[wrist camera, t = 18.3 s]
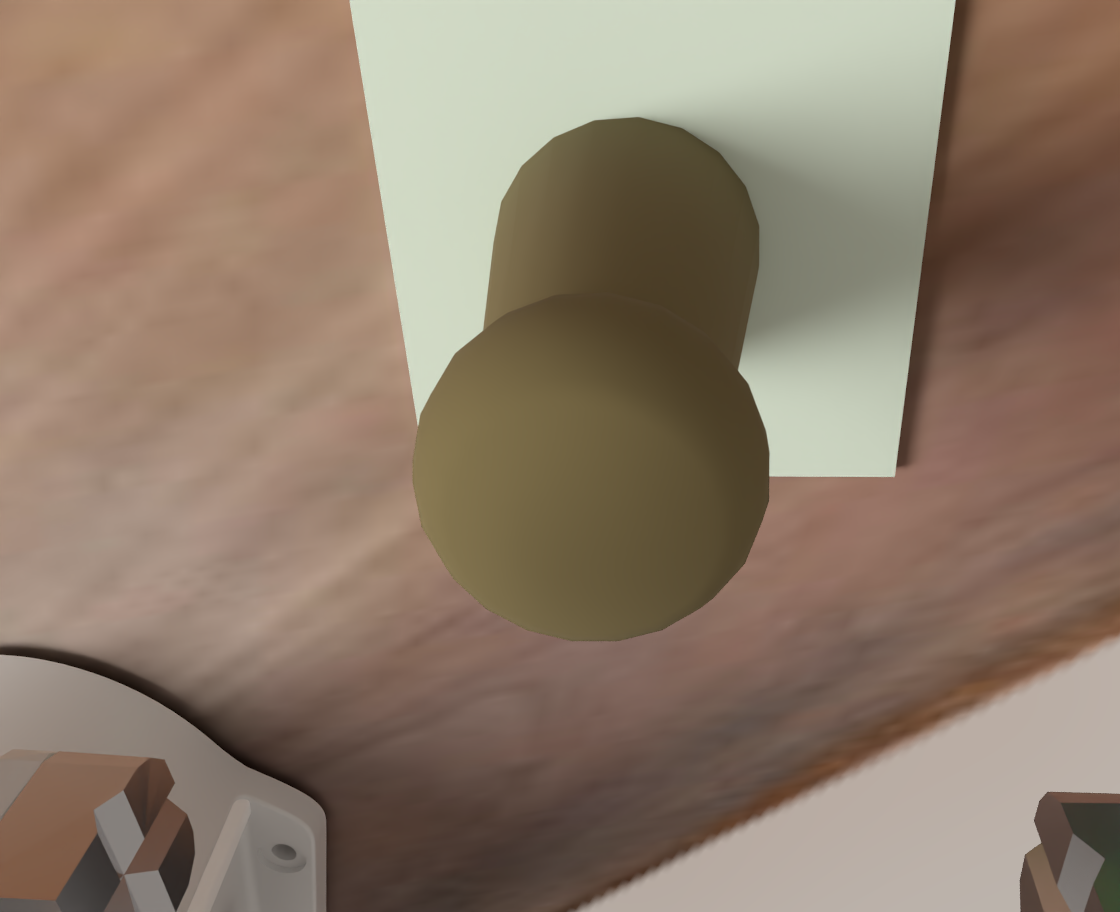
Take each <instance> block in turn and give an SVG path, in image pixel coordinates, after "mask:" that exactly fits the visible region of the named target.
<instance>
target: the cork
mask: <svg viewBox="0 0 1120 912" xmlns="http://www.w3.org/2000/svg"><path fill="white" fill-rule="evenodd" d="M758 270H759V223H758V221H757V218H756V215H755V212H754V209H753V206H752V203H751V200H750V197H749V194H748V191H747V188H746V186H745V185H744V183H743V182H742V181H741V179H740V178H739V177H738V176H737V174H736V173H735V172H734V170H733V169H732V168H731V167H730V165H729V164H728V163H727V161H726V160H725V159H724V158H723V156H722V155H721V154H720V153H719V152H718V151H717V150H715V149H714V148H712V147H710V146H709V145H707V144H706V143H704V142H703V141H701V140H700V139H698V138H697V137H695V136H694V135H692V134H690V133H689V132H687V131H686V130H684V129H683V128H680V127H676V126H672V125H668V124H664V123H660V122H656V121H652V120H648V119H645V118H641V117H632V118H619V119H606V120H594V121H591V122H589V123H587V124H584V125H582V126H579V127H577V128H575V129H572V130H570V131H568V132H565V133H563V134H561V135H558V136H556V137H553V138H552V139H551V140H550V141H549V142H548V143H547V144H546V145H544V146H543V147H542V148H541V149H540V150H539V151H538V152H537V153H535V154H534V155H533V156H532V157H531V158H530V159H529V160H528V161H526V162H525V163H524V164H523V165H522V166H521V168H520V169H519V171H518V173H517V175H516V177H515V178H514V180H513V182H512V184H511V185H510V187H509V189H508V191H507V192H506V194H505V196H504V198H503V199H502V201H501V205H500V210H499V216H498V221H497V226H496V231H495V237H494V242H493V251H492V259H491V268H490V276H489V284H488V293H487V301H486V310H485V318H484V326H483V331H482V332H481V333H480V334H478V335H477V336H476V337H475V338H473V339H472V340H471V341H470V342H468V343H467V344H466V345H465V346H463V347H462V348H461V349H460V350H459V351H457V352H456V353H455V354H454V356H453V357H452V359H451V361H450V363H449V364H448V366H447V368H446V369H445V371H444V373H443V374H442V376H441V378H440V379H439V381H438V383H437V384H436V386H435V388H434V389H433V391H432V393H431V395H430V396H429V398H428V400H427V402H426V404H425V406H424V408H423V410H422V412H421V414H420V419H419V425H418V431H417V437H416V443H415V449H414V456H413V487H414V491H415V496H416V501H417V506H418V511H419V516H420V521H421V525H422V528H423V530H424V531H425V533H426V535H427V536H428V538H429V540H430V541H431V543H432V545H433V546H434V548H435V550H436V551H437V553H438V555H439V556H440V558H441V560H442V562H443V563H444V565H445V567H446V568H447V570H448V571H449V573H450V574H451V576H452V577H453V579H454V580H455V581H456V582H457V583H458V584H460V585H461V586H462V587H463V588H464V589H465V590H466V591H467V592H468V593H469V594H471V595H472V596H473V597H474V598H475V599H476V600H477V601H478V602H479V603H480V604H481V605H483V606H484V607H485V608H486V609H487V610H489V611H491V612H493V613H495V614H497V615H499V616H501V617H503V618H505V619H506V620H508V621H510V622H512V623H514V624H516V625H518V626H520V627H522V628H524V629H526V630H528V631H533V632H537V633H541V634H545V635H549V636H553V637H557V638H561V639H565V640H569V641H621V640H624V639H628V638H632V637H636V636H640V635H644V634H648V633H652V632H656V631H660V630H663V629H665V628H666V627H668V626H670V625H672V624H673V623H675V622H677V621H679V620H680V619H682V618H684V617H686V616H687V615H689V614H691V613H693V612H694V611H696V610H698V609H700V608H701V607H702V606H704V605H705V604H706V603H708V602H709V601H710V600H711V599H713V598H714V597H715V596H716V595H717V593H718V592H719V591H720V590H721V589H722V588H723V587H724V586H725V585H726V584H727V583H728V581H729V580H730V579H731V578H732V577H733V576H734V575H735V574H736V573H737V572H738V571H739V569H740V568H741V567H742V566H743V565H744V564H745V562H746V559H747V557H748V554H749V552H750V550H751V547H752V545H753V542H754V540H755V537H756V535H757V532H758V530H759V528H760V525H761V523H762V520H763V517H764V514H765V511H766V508H767V505H768V502H769V458H770V451H769V445H768V439H767V433H766V429H765V427H764V424H763V421H762V419H761V416H760V413H759V411H758V408H757V405H756V403H755V400H754V397H753V395H752V392H751V389H750V387H749V384H748V383H747V381H746V380H745V379H744V378H743V376H742V375H741V374H740V373H739V371H738V368H739V363H740V358H741V353H742V348H743V343H744V338H745V333H746V329H747V324H748V319H749V314H750V309H751V304H752V299H753V294H754V289H755V285H756V280H757V275H758Z"/></svg>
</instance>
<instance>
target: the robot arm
mask: <svg viewBox="0 0 1120 912" xmlns="http://www.w3.org/2000/svg"><path fill="white" fill-rule="evenodd" d="M1034 822H1035V825H1036V828H1037V831H1038V833H1039V836H1040V839H1041V842H1042V843H1041V844H1039V845H1038V846H1037V847H1035V848H1034V849H1032V850H1031V851H1029V852H1028V853H1027V854H1025V858H1024V863H1023V868H1022V872H1021V877H1020V905H1021V912H1120V794H1107V793H1071V792H1047V793H1046V794H1045V796H1044V797H1043V798H1042V799H1041V800H1040V801H1039V805H1038V808H1037V812H1036V816H1035V819H1034ZM0 912H326V816H325V813H324V811H323V809H322V808H321V806H320V805H319V804H318V803H317V802H316V801H314V800H313V799H312V798H310V797H309V796H307V795H306V794H304V793H302V792H301V791H299V790H297V789H295V788H293V787H291V786H289V785H287V784H285V783H283V782H280V781H278V780H276V779H274V778H272V777H269V776H267V775H265V774H262V773H260V772H258V771H255V770H253V769H251V768H248V767H246V766H245V765H243V764H242V763H240V762H239V761H237V760H236V759H234V758H233V757H232V756H230V755H229V754H228V753H226V752H225V751H224V750H223V749H221V748H220V747H219V746H218V745H217V744H215V743H214V742H213V741H212V740H211V739H209V738H208V737H207V736H206V735H204V734H203V733H202V732H201V731H200V730H198V729H197V728H196V727H194V726H193V725H192V724H190V723H189V722H188V721H186V720H185V719H183V718H182V717H180V716H179V715H177V714H176V713H175V712H173V711H171V710H170V709H168V708H166V707H165V706H163V705H162V704H160V703H158V702H156V701H155V700H153V699H151V698H149V697H147V696H145V695H144V694H142V693H140V692H138V691H135V690H133V689H131V688H129V687H127V686H125V685H123V684H120V683H118V682H115V681H113V680H111V679H108V678H106V677H103V676H100V675H97V674H95V673H92V672H89V671H85V670H82V669H79V668H76V667H72V666H68V665H65V664H61V663H56V662H52V661H47V660H42V659H36V658H30V657H21V656H11V655H0Z"/></svg>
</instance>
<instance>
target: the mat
mask: <svg viewBox="0 0 1120 912" xmlns="http://www.w3.org/2000/svg"><path fill="white" fill-rule="evenodd" d="M955 1H956V0H350V6H351V13H352V19H353V25H354V31H355V38H356V44H357V50H358V56H359V62H360V69H361V75H362V81H363V87H364V94H365V100H366V106H367V112H368V118H369V125H370V131H371V137H372V143H373V150H374V156H375V162H376V168H377V174H378V181H379V187H380V193H381V199H382V206H383V212H384V218H385V224H386V230H387V237H388V243H389V249H390V255H391V261H392V268H393V274H394V280H395V286H396V293H397V299H398V305H399V311H400V317H401V324H402V330H403V336H404V342H405V349H406V355H407V361H408V367H409V373H410V380H411V386H412V392H413V398H414V405H415V411H416V417H417V423H418V425H419V419H420V414H421V412H422V410H423V408H424V406H425V404H426V402H427V400H428V398H429V396H430V395H431V393H432V391H433V389H434V388H435V386H436V384H437V383H438V381H439V379H440V378H441V376H442V374H443V373H444V371H445V369H446V368H447V366H448V364H449V363H450V361H451V359H452V357H453V356H454V354H455V353H456V352H457V351H459V350H460V349H461V348H462V347H463V346H465V345H466V344H467V343H468V342H470V341H471V340H472V339H473V338H475V337H476V336H477V335H478V334H480V333H481V332H482V331H483V326H484V318H485V310H486V301H487V293H488V284H489V276H490V268H491V259H492V251H493V242H494V237H495V231H496V226H497V221H498V216H499V210H500V205H501V201H502V199H503V198H504V196H505V194H506V192H507V191H508V189H509V187H510V185H511V184H512V182H513V180H514V178H515V177H516V175H517V173H518V171H519V169H520V168H521V166H522V165H523V164H524V163H525V162H526V161H528V160H529V159H530V158H531V157H532V156H533V155H534V154H535V153H537V152H538V151H539V150H540V149H541V148H542V147H543V146H544V145H546V144H547V143H548V142H549V141H550V140H551V139H552V138H553V137H556V136H558V135H561V134H563V133H565V132H568V131H570V130H572V129H575V128H577V127H579V126H582V125H584V124H587V123H589V122H591V121H594V120H606V119H619V118H632V117H641V118H645V119H648V120H652V121H656V122H660V123H664V124H668V125H672V126H676V127H680V128H683V129H684V130H686V131H687V132H689V133H690V134H692V135H694V136H695V137H697V138H698V139H700V140H701V141H703V142H704V143H706V144H707V145H709V146H710V147H712V148H714V149H715V150H717V151H718V152H719V153H720V154H721V155H722V156H723V158H724V159H725V160H726V161H727V163H728V164H729V165H730V167H731V168H732V169H733V170H734V172H735V173H736V174H737V176H738V177H739V178H740V179H741V181H742V182H743V183H744V185H745V186H746V188H747V191H748V194H749V197H750V200H751V203H752V206H753V209H754V212H755V215H756V218H757V221H758V223H759V270H758V275H757V280H756V285H755V289H754V294H753V299H752V304H751V309H750V314H749V319H748V324H747V329H746V333H745V338H744V343H743V348H742V353H741V358H740V363H739V368H738V371H739V373H740V374H741V375H742V376H743V378H744V379H745V380H746V381H747V383H748V384H749V387H750V389H751V392H752V395H753V397H754V400H755V403H756V405H757V408H758V411H759V413H760V416H761V419H762V421H763V424H764V427H765V429H766V433H767V439H768V445H769V451H770V458H769V476H795V477H895V470H896V462H897V455H898V447H899V439H900V431H901V423H902V415H903V408H904V400H905V392H906V384H907V376H908V369H909V361H910V353H911V345H912V337H913V330H914V322H915V314H916V306H917V298H918V290H919V283H920V275H921V267H922V259H923V251H924V244H925V236H926V228H927V220H928V212H929V205H930V197H931V189H932V181H933V173H934V165H935V158H936V150H937V142H938V134H939V126H940V119H941V111H942V103H943V95H944V87H945V80H946V72H947V64H948V56H949V48H950V40H951V33H952V25H953V17H954V9H955Z"/></svg>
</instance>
